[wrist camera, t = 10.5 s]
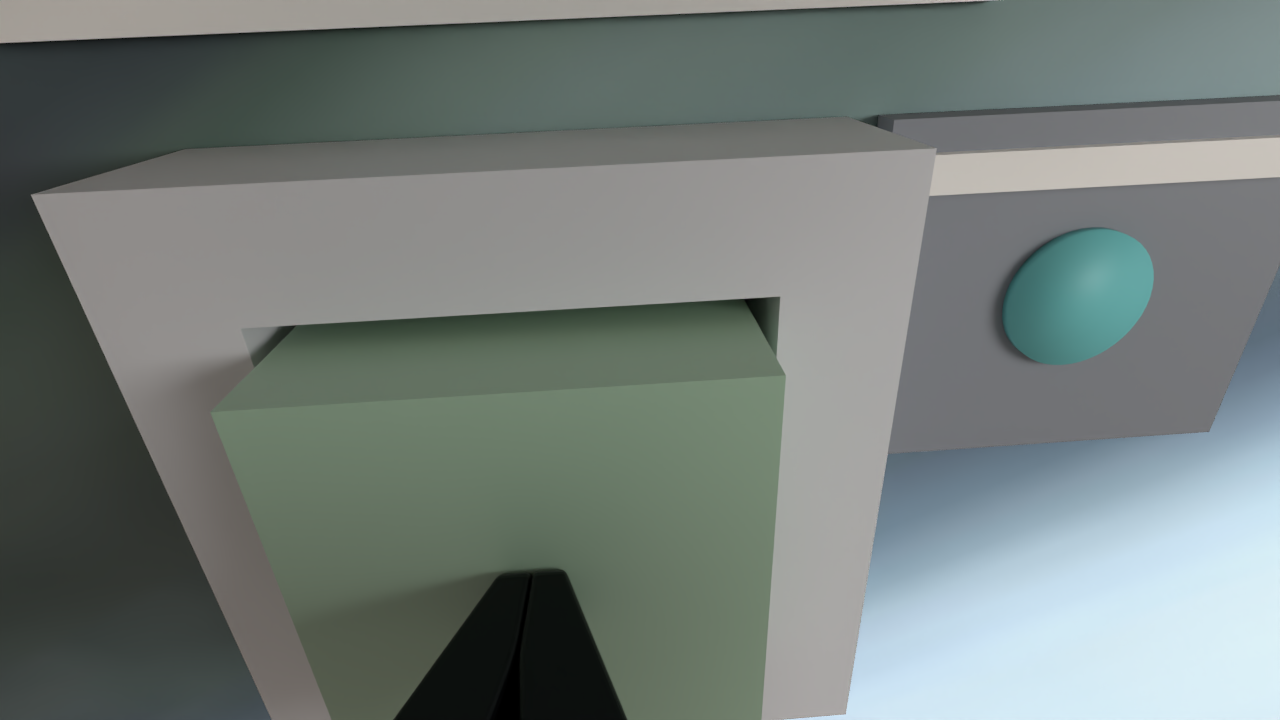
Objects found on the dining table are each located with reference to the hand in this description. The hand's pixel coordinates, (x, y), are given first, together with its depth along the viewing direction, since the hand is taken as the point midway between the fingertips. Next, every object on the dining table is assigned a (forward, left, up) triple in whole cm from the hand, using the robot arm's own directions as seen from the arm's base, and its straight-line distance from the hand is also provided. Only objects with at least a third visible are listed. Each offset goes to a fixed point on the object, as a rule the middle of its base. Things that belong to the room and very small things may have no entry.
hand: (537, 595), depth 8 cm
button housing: (0, 0, -4) cm, 4 cm away
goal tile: (-9, -2, -4) cm, 10 cm away
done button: (0, 0, -4) cm, 4 cm away
